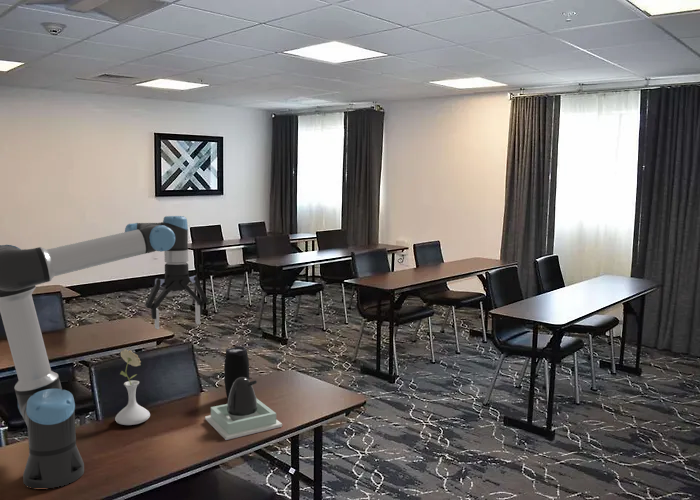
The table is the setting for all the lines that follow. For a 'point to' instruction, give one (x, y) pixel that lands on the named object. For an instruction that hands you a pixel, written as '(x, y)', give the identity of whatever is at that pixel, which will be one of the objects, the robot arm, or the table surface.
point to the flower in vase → (131, 395)
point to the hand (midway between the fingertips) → (177, 326)
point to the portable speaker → (235, 366)
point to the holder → (242, 421)
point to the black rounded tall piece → (242, 399)
